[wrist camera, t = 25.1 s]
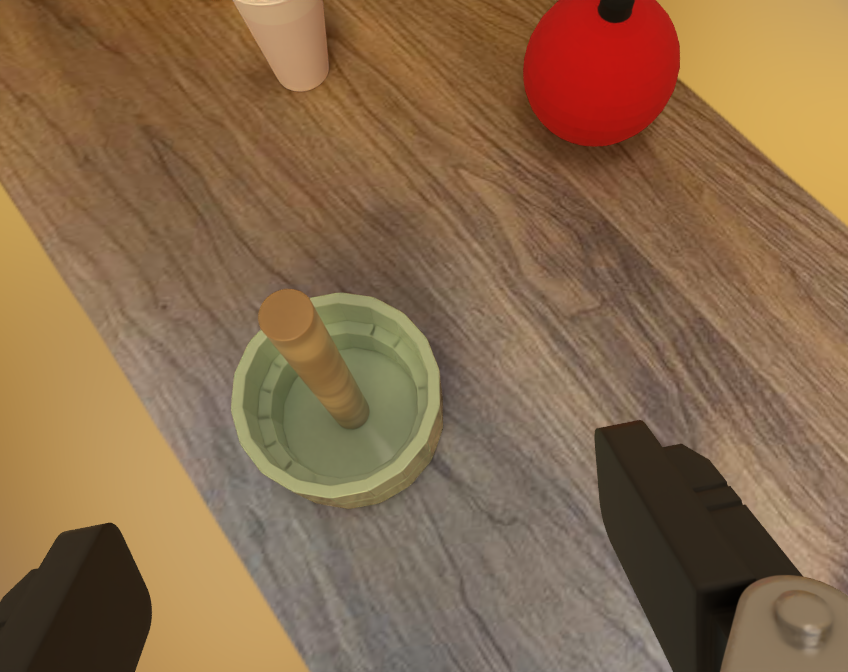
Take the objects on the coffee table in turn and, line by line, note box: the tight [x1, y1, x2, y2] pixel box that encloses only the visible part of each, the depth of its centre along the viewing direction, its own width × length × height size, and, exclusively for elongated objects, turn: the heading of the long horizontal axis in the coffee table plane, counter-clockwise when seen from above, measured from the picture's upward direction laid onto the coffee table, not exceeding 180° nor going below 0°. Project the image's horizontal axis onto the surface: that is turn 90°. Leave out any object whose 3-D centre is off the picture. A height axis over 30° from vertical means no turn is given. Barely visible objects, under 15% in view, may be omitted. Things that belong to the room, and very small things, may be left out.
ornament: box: [523, 0, 680, 147], centre depth 40 cm, size 9×9×10 cm
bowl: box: [231, 293, 443, 509], centre depth 36 cm, size 10×10×6 cm
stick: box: [258, 289, 370, 429], centre depth 31 cm, size 2×2×15 cm
